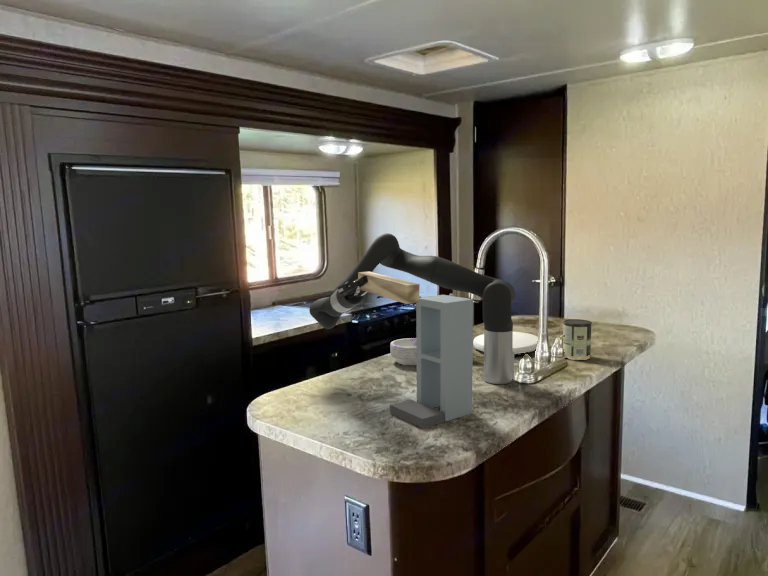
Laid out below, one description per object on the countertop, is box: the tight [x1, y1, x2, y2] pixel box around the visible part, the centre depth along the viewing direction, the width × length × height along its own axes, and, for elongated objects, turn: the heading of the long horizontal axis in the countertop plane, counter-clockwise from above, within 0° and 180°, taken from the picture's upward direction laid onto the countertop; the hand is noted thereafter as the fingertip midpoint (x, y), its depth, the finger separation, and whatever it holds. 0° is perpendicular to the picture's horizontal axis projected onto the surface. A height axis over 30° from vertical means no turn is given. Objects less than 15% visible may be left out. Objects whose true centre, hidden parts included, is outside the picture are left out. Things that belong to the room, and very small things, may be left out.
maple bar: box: [358, 271, 420, 305], centre depth 158 cm, size 4×24×5 cm, turn 35°
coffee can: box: [562, 318, 593, 357], centre depth 214 cm, size 10×10×14 cm
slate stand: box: [415, 294, 474, 422], centre depth 156 cm, size 10×12×32 cm
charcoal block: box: [389, 399, 445, 429], centre depth 153 cm, size 8×14×2 cm, turn 36°
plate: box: [473, 331, 539, 353], centre depth 229 cm, size 28×6×27 cm
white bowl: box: [389, 337, 417, 367], centre depth 210 cm, size 15×15×8 cm
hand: (373, 277), depth 163 cm, fingers closed on maple bar, 4 cm apart
